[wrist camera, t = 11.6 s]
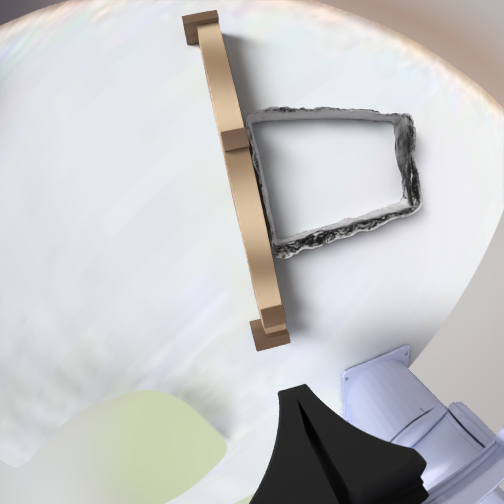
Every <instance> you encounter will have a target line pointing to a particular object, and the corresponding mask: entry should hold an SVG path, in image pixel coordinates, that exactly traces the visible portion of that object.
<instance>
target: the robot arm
mask: <svg viewBox="0 0 504 504" xmlns="http://www.w3.org/2000/svg"><path fill="white" fill-rule="evenodd" d="M409 356H410V346H409V345H404V346H402V347H400V348H398V349H396V350H393V351H391V352H389V353H387V354H384V355H382V356H380V357H377V358H375V359H372V360H370V361H367V362H365V363H362V364H360V365H357V366H355V367H352V368H349V369H347V370H345V371H343V373H342V403H343V418H341V417H340V416H339V415H337V414H336V413H335V412H334V411H332V410H331V409H330V408H329V407H328V406H327V405H325V404H324V403H323V402H322V401H321V400H320V399H319V398H318V397H317V396H316V395H315V394H314V393H313V392H312V391H311V389H310V388H309V387H308V386H307V385H306V384H303V385H300V386H296V387H293V388H289V389H286V390H282V391H279V392H278V397H279V423H278V430H277V436H276V441H275V446H274V449H273V453H272V456H271V459H270V462H269V465H268V468H267V470H266V473H265V475H264V477H263V479H262V481H261V483H260V485H259V487H258V489H257V491H256V493H255V494H254V496H253V498H252V499H251V501H250V503H249V504H504V491H503V490H502V489H501V488H500V487H499V485H500V484H501V483H502V481H504V426H503V427H502V428H501V429H500V431H499V432H498V433H497V435H495V434H494V432H493V431H492V430H491V429H490V428H488V426H487V425H486V424H485V423H484V422H483V421H482V420H481V419H480V418H478V417H477V415H475V414H474V413H473V412H472V411H471V410H470V409H469V408H468V407H467V406H466V405H464V404H463V403H462V402H457V403H452V404H451V405H450V406H449V408H447V407H446V406H444V405H443V404H442V403H441V402H440V401H439V400H438V399H437V398H436V397H435V396H434V395H433V394H432V393H431V392H430V390H429V389H428V388H427V387H426V386H425V385H424V384H423V383H422V382H420V380H419V379H418V378H417V377H415V375H414V374H413V373H412V372H411V371H410V370H409V369H408V364H409ZM347 377H348V378H347ZM346 378H347V379H346Z"/></svg>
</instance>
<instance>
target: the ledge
mask: <svg viewBox="0 0 504 504" xmlns="http://www.w3.org/2000/svg"><path fill="white" fill-rule="evenodd" d="M182 19H183V25H184V30H185V35H186V40H187V45H190V44H194V43H199V45H200V50H201V54H202V59H203V64H204V68H205V73H206V78H207V82H208V87H209V92H210V96H211V101H212V105H213V110H214V115H215V119H216V124H217V128H218V133H219V137H220V142H221V146H222V151H223V156H224V160H225V165H226V169H227V174H228V178H229V182H230V187H231V191H232V196H233V200H234V205H235V209H236V214H237V218H238V222H239V227H240V231H241V236H242V240H243V244H244V249H245V253H246V258H247V262H248V266H249V271H250V275H251V279H252V284H253V288H254V292H255V297H256V301H257V305H258V310H259V314H260V318H261V319H258V320H254V321H250V326H251V330H252V334H253V338H254V342H255V346H256V350H257V351H261V350H265V349H269V348H273V347H277V346H281V345H284V344H288V343H290V338H289V333H288V331H287V329H286V324H285V323H286V318H285V312H284V307H283V306H282V303H281V298H280V293H279V288H278V283H277V278H276V273H275V268H274V263H273V258H272V253H271V248H270V244H269V239H268V234H267V229H266V224H265V220H264V215H263V210H262V206H261V201H260V196H259V192H258V187H257V182H256V178H255V173H254V169H253V164H252V160H251V155H250V151H249V146H250V145H249V140H248V136H247V132H246V127H244V125H243V120H242V116H241V112H240V108H239V103H238V99H237V95H236V91H235V87H234V83H233V78H232V74H231V70H230V66H229V62H228V58H227V54H226V50H225V46H224V42H223V38H222V34H221V30H220V26H219V23H218V21H219V17H218V13H217V10H214V11H207V12H202V13H196V14H191V15H186V16H182Z"/></svg>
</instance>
